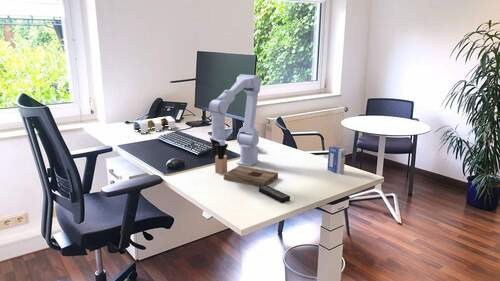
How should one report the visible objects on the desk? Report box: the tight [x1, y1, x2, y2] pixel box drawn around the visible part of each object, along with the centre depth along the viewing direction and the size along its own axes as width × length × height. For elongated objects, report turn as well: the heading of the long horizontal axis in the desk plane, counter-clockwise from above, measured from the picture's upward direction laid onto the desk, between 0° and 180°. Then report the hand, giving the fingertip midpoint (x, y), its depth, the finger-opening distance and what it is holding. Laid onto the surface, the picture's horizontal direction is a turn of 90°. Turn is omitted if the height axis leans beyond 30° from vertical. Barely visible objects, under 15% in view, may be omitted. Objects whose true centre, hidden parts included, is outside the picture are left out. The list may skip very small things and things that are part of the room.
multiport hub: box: [258, 185, 291, 204], centre depth 155 cm, size 4×14×2 cm, turn 38°
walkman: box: [326, 145, 346, 175], centre depth 182 cm, size 8×3×12 cm, turn 37°
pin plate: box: [223, 164, 279, 188], centre depth 173 cm, size 14×20×2 cm
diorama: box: [132, 113, 176, 133], centre depth 255 cm, size 25×10×13 cm, turn 131°
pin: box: [214, 154, 228, 175], centre depth 180 cm, size 4×4×8 cm
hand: (218, 156), depth 173 cm, fingers open, 7 cm apart
